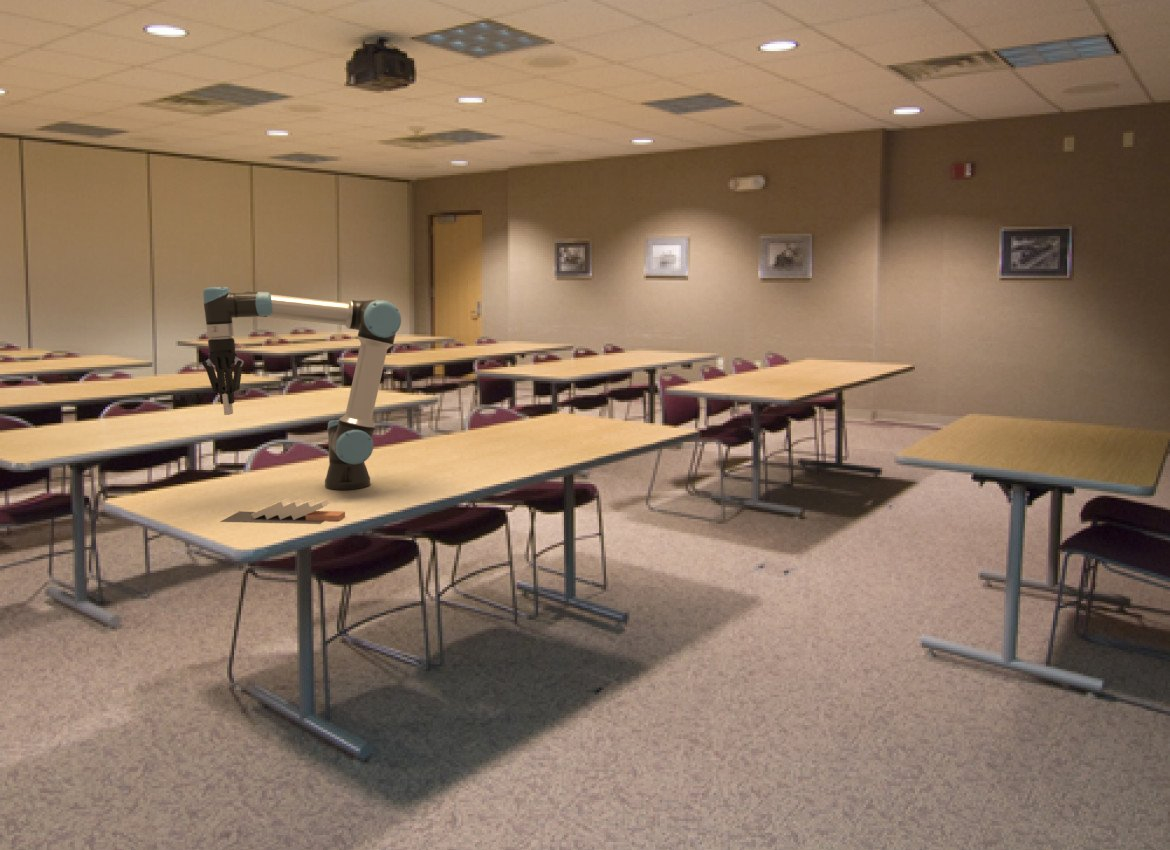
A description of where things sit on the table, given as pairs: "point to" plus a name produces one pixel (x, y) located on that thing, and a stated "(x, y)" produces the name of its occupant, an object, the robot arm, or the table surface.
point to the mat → (248, 517)
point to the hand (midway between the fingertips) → (228, 414)
